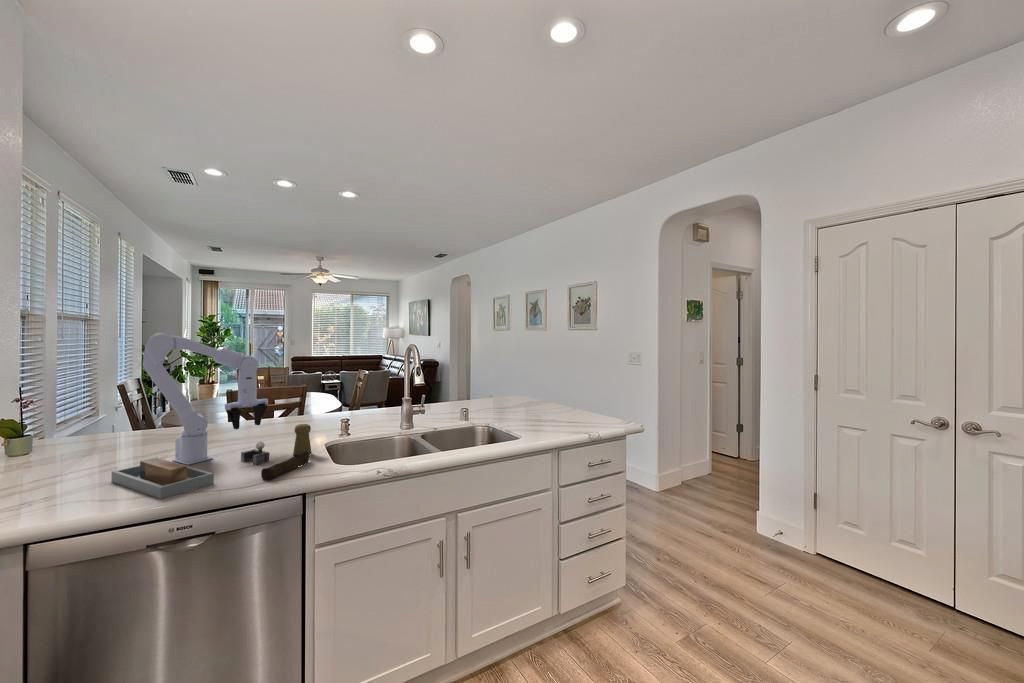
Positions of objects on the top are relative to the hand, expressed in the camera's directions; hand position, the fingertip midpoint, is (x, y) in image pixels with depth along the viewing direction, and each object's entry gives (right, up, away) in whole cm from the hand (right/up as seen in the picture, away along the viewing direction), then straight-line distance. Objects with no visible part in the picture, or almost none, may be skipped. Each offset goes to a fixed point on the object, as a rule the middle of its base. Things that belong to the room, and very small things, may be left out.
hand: (247, 426), depth 153 cm
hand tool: (+24, -11, -18) cm, 32 cm away
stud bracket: (+9, -10, -9) cm, 16 cm away
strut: (-5, -9, -31) cm, 33 cm away
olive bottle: (+20, -10, -1) cm, 23 cm away
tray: (-5, -10, -31) cm, 33 cm away
